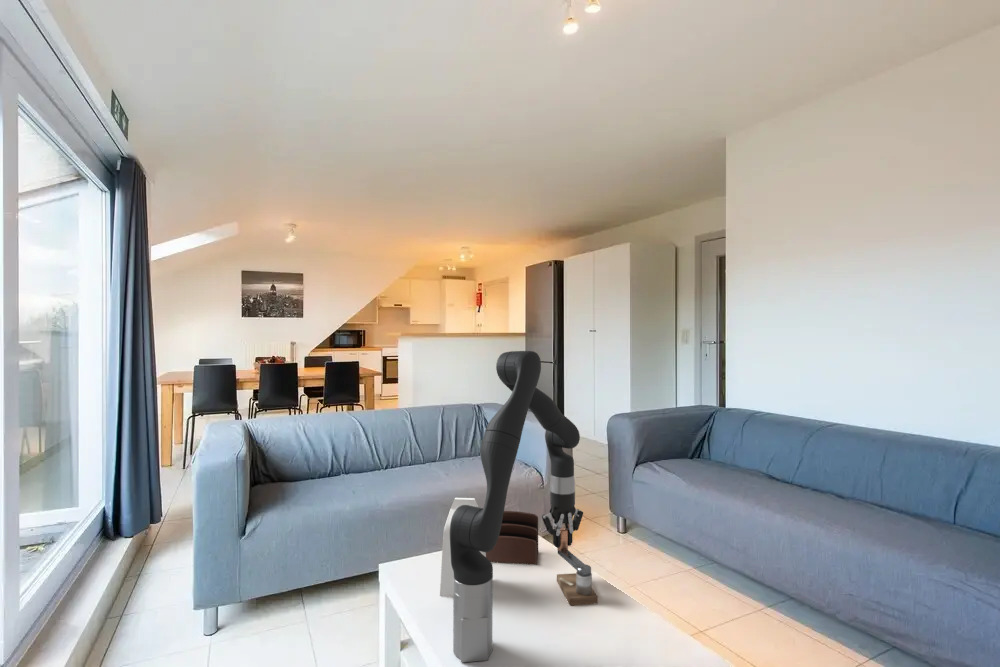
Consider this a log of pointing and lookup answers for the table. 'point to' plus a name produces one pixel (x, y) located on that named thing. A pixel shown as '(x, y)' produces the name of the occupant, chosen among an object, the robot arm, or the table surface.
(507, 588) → the table surface
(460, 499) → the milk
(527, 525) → the letter holder
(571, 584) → the press bench
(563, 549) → the lever
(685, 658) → the table surface
